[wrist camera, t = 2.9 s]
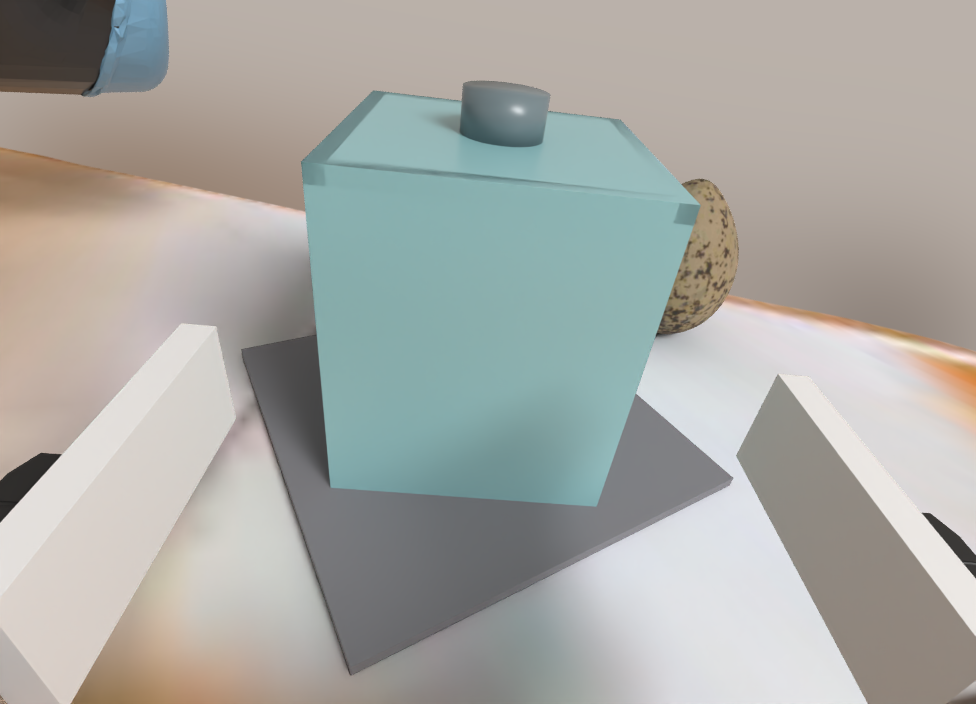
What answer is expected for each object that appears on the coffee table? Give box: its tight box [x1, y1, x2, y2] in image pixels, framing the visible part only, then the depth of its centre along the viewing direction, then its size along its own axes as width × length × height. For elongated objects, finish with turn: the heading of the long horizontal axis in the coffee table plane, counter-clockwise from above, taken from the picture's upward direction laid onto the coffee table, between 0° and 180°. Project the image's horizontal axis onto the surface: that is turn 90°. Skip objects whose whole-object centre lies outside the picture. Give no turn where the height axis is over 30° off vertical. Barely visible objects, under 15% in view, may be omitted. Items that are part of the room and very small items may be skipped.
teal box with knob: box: [301, 81, 701, 507], centre depth 22 cm, size 11×11×14 cm
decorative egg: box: [657, 179, 739, 334], centre depth 33 cm, size 7×7×10 cm
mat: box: [241, 335, 733, 675], centre depth 27 cm, size 18×18×1 cm
